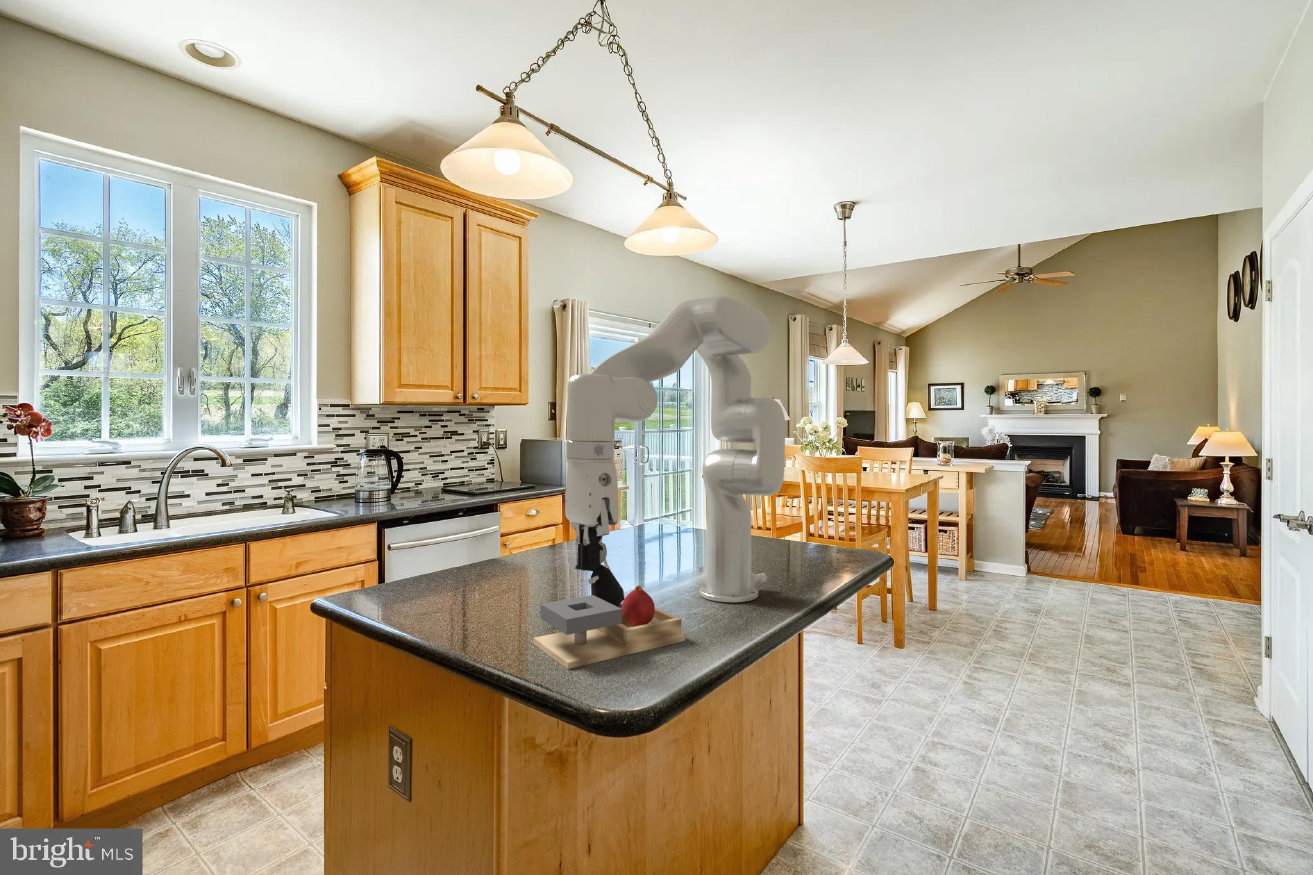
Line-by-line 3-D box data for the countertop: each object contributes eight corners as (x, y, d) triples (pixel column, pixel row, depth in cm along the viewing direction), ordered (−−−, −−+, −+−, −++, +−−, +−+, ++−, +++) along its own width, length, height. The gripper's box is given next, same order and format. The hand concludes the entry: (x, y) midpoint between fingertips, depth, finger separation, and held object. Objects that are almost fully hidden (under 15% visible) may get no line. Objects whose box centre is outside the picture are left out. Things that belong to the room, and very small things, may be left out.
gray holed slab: (592, 608, 108) (592, 595, 108) (621, 623, 100) (621, 608, 100) (540, 618, 103) (540, 603, 103) (566, 634, 95) (566, 619, 95)
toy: (619, 614, 117) (595, 538, 117) (586, 623, 118) (562, 548, 119) (633, 597, 128) (612, 528, 129) (603, 606, 129) (582, 537, 130)
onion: (616, 627, 109) (616, 582, 109) (647, 623, 112) (647, 579, 111) (628, 637, 104) (628, 590, 104) (659, 633, 106) (659, 587, 106)
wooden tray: (643, 620, 116) (643, 591, 116) (684, 640, 106) (684, 608, 106) (533, 643, 104) (533, 611, 104) (567, 669, 93) (567, 632, 93)
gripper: (635, 454, 94) (633, 575, 94) (589, 451, 106) (587, 558, 106) (592, 454, 90) (590, 581, 90) (548, 451, 102) (546, 562, 102)
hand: (588, 568), depth 98 cm, fingers closed
